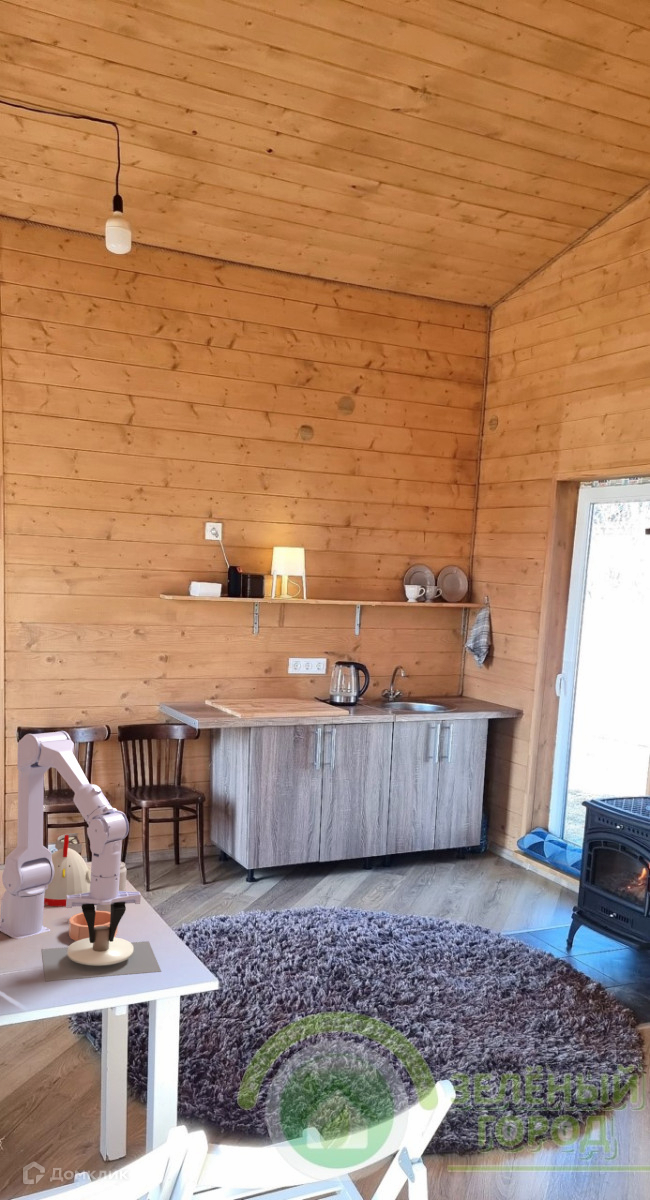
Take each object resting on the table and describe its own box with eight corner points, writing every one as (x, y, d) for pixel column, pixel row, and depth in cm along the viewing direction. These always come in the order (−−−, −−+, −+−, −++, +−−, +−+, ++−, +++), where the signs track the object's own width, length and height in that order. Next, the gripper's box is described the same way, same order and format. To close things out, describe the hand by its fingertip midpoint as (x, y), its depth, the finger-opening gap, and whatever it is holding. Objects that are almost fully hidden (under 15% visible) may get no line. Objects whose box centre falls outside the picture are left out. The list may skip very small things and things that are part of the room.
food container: (51, 870, 238) (53, 833, 238) (75, 869, 240) (77, 832, 240) (54, 884, 226) (57, 845, 226) (79, 883, 228) (82, 844, 229)
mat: (41, 951, 183) (41, 949, 183) (148, 944, 191) (148, 941, 191) (44, 984, 168) (45, 981, 168) (161, 974, 176) (161, 971, 176)
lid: (54, 950, 179) (55, 927, 179) (108, 935, 189) (109, 912, 189) (91, 971, 170) (93, 946, 171) (146, 953, 180) (147, 930, 180)
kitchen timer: (30, 907, 210) (34, 843, 210) (35, 888, 223) (39, 828, 223) (91, 905, 213) (95, 843, 213) (92, 887, 226) (96, 828, 226)
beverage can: (128, 917, 206) (131, 865, 206) (102, 922, 202) (105, 869, 202) (117, 909, 211) (120, 858, 211) (91, 913, 207) (94, 862, 207)
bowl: (59, 938, 192) (60, 919, 192) (95, 925, 200) (96, 907, 200) (90, 949, 186) (90, 930, 186) (126, 936, 194) (126, 917, 194)
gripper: (69, 881, 174) (65, 950, 173) (144, 877, 178) (140, 945, 178) (67, 870, 180) (63, 937, 180) (139, 867, 185) (135, 932, 185)
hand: (101, 940), depth 180 cm, fingers closed on lid, 3 cm apart
